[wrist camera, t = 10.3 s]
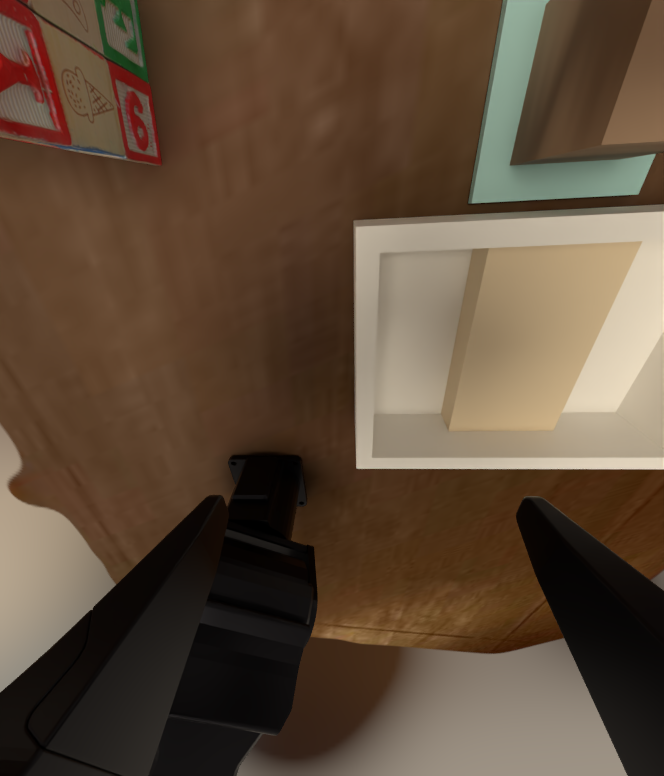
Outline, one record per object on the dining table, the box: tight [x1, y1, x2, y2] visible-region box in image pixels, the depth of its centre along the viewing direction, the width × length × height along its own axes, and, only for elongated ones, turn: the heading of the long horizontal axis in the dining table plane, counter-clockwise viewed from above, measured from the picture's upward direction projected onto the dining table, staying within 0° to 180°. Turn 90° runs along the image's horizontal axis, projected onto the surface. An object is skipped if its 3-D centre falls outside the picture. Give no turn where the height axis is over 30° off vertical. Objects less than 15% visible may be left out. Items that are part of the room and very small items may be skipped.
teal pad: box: [468, 0, 656, 203], centre depth 13 cm, size 8×8×1 cm
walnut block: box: [509, 0, 664, 166], centre depth 10 cm, size 5×5×6 cm
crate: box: [353, 204, 664, 469], centre depth 17 cm, size 14×20×5 cm
